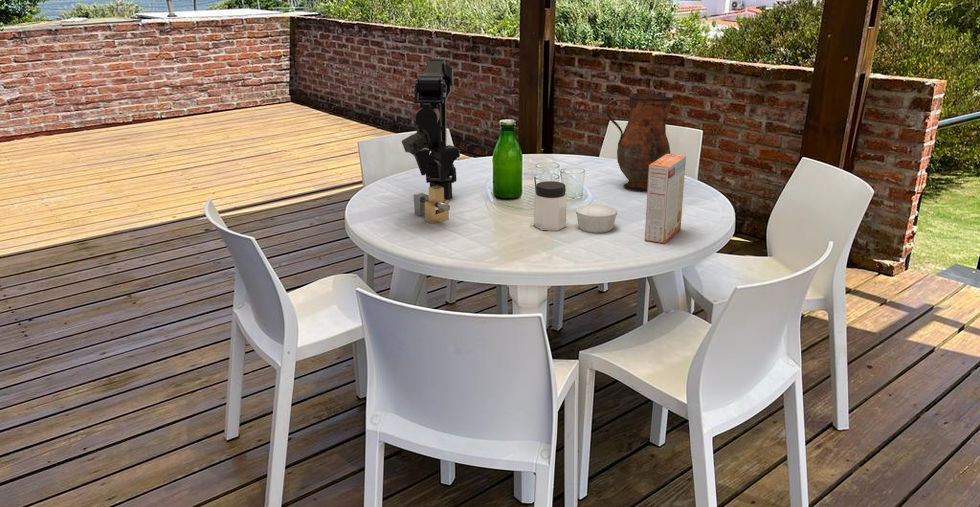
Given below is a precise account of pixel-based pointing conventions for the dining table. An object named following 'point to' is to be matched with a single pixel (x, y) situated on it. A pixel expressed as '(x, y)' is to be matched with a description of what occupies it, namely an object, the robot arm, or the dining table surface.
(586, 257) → the dining table surface
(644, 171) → the pitcher
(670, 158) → the cracker box
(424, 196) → the hook post
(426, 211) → the stirrup
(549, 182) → the jar
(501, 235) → the dining table surface
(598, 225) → the ramekin
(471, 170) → the dining table surface
